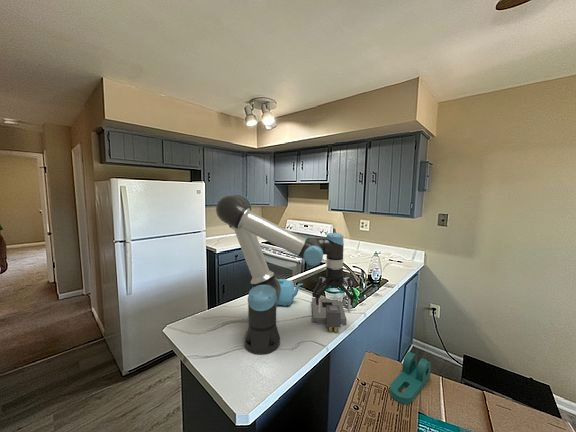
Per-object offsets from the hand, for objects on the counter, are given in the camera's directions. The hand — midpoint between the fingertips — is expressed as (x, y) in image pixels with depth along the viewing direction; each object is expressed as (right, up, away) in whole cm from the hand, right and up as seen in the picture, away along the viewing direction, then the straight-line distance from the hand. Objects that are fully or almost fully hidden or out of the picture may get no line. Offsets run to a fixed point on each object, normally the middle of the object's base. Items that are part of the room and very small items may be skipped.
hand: (334, 311), depth 115 cm
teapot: (-24, -6, +28) cm, 37 cm away
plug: (-1, -9, +1) cm, 9 cm away
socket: (0, -7, +16) cm, 17 cm away
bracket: (+19, -13, -32) cm, 40 cm away
